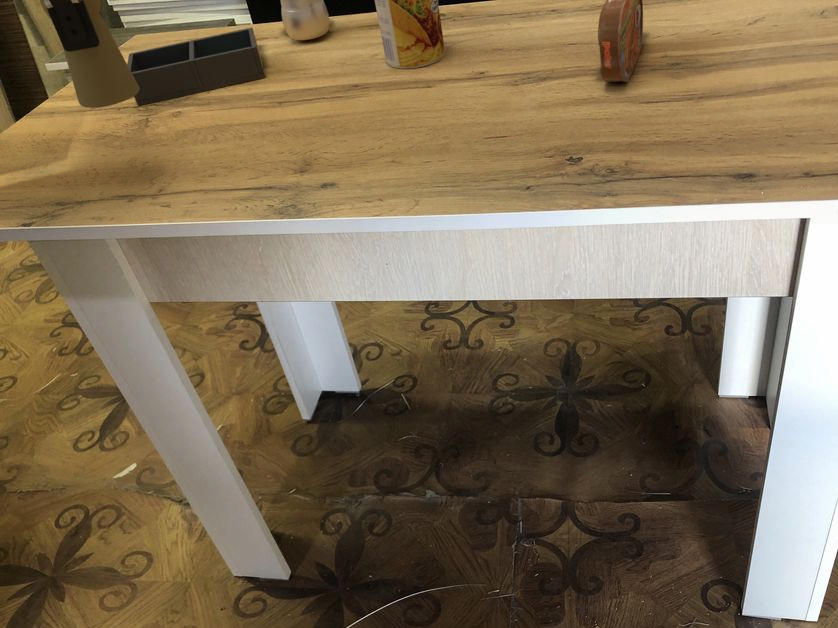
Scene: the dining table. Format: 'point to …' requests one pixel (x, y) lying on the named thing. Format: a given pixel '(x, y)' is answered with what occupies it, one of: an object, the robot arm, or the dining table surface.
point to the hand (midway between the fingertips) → (85, 36)
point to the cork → (99, 67)
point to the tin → (620, 38)
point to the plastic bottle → (305, 18)
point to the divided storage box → (196, 66)
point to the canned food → (410, 32)
